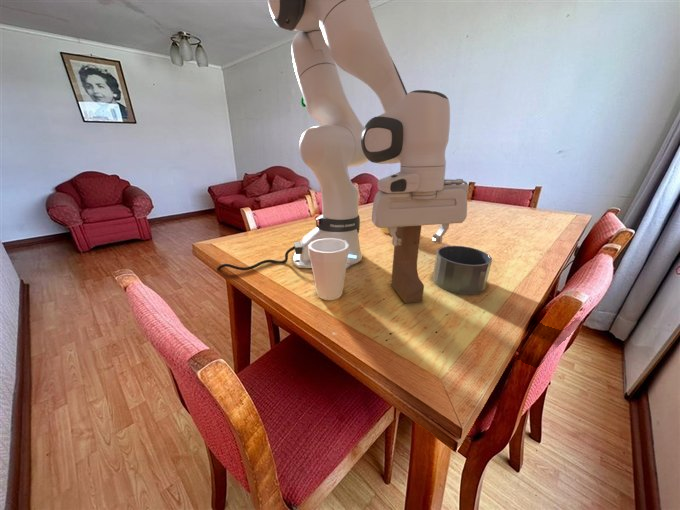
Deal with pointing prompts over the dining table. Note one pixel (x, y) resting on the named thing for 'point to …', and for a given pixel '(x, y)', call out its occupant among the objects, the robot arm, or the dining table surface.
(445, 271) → the grey short cylinder
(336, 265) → the foam cup
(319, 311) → the dining table surface
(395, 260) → the wooden block
